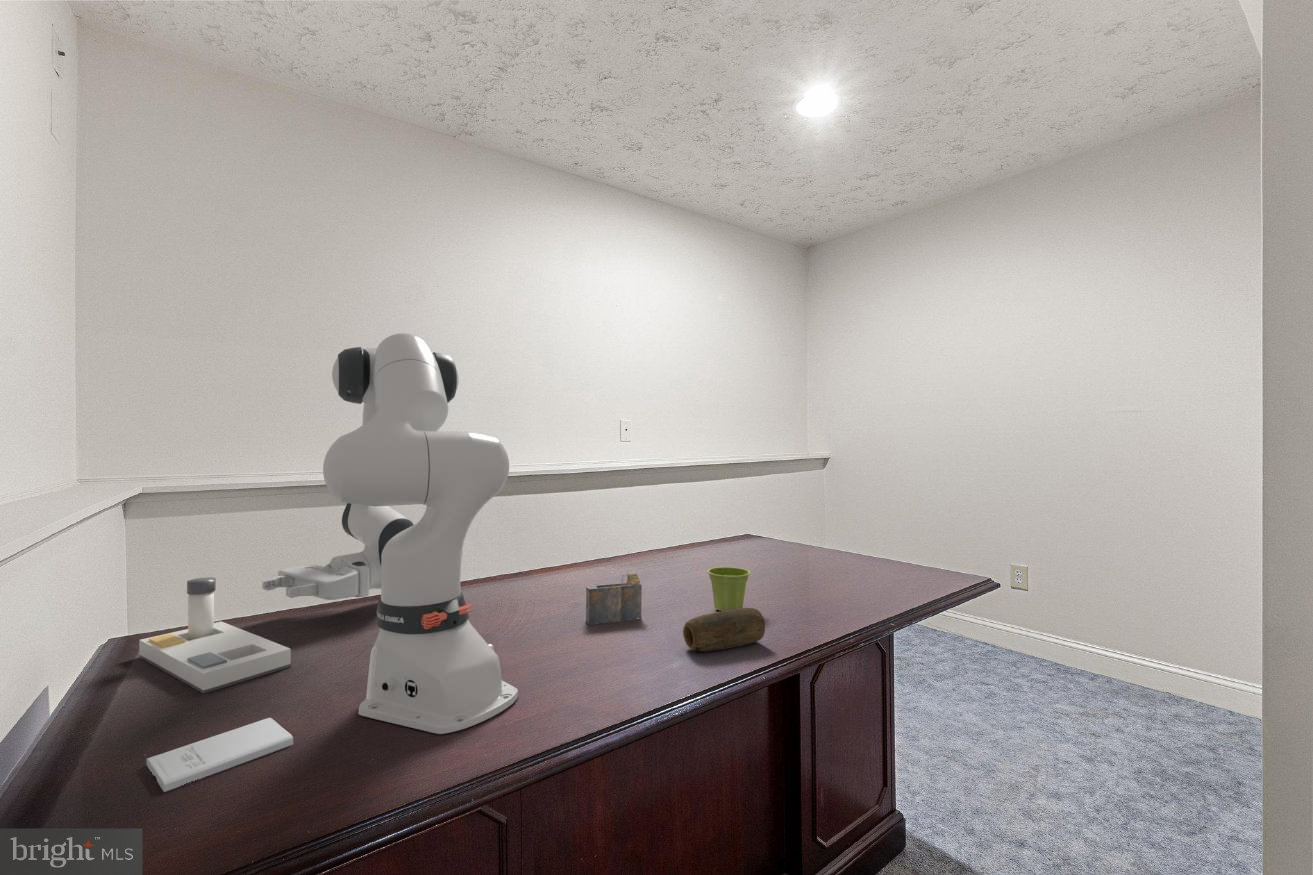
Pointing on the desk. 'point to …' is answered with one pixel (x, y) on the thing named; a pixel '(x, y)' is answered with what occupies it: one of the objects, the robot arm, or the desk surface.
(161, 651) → the socket board
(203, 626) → the grey capped white cylinder
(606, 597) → the rusty metal tin
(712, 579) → the plant pot
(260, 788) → the desk surface
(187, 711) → the desk surface
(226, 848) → the desk surface
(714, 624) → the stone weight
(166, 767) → the external hard drive
